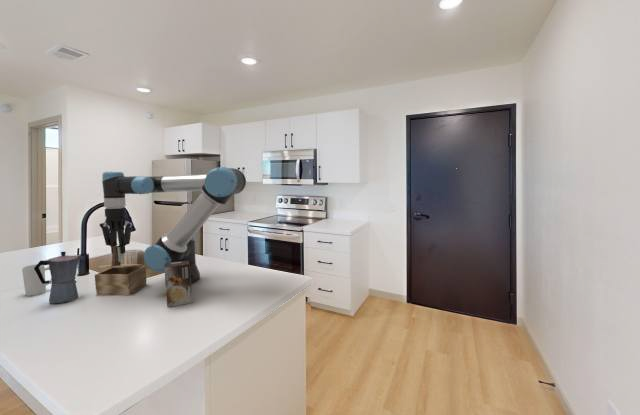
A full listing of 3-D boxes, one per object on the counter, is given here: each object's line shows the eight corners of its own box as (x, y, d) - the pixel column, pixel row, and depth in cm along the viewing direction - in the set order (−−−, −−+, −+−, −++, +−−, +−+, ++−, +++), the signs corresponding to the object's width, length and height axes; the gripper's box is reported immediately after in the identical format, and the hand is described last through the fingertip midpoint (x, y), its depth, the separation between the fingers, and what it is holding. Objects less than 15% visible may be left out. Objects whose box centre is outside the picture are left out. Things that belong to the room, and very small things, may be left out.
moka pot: (91, 294, 121) (87, 248, 119) (47, 310, 107) (42, 258, 105) (77, 291, 124) (73, 247, 122) (32, 306, 110) (26, 256, 108)
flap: (142, 265, 131) (143, 245, 132) (126, 267, 120) (128, 246, 121) (115, 265, 131) (117, 245, 132) (97, 267, 120) (99, 246, 121)
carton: (147, 284, 133) (146, 265, 132) (130, 294, 121) (129, 274, 120) (115, 284, 132) (113, 266, 131) (95, 295, 120) (93, 274, 120)
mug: (25, 297, 118) (22, 269, 117) (24, 293, 122) (21, 266, 121) (57, 290, 126) (55, 264, 124) (55, 286, 130) (53, 261, 129)
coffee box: (191, 297, 119) (189, 259, 117) (192, 302, 113) (190, 263, 111) (166, 301, 114) (164, 262, 113) (166, 307, 109) (164, 267, 107)
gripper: (137, 206, 126) (140, 258, 128) (104, 206, 126) (108, 258, 128) (126, 208, 119) (130, 263, 121) (91, 208, 118) (96, 263, 120)
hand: (119, 260), depth 124 cm, fingers closed on flap
